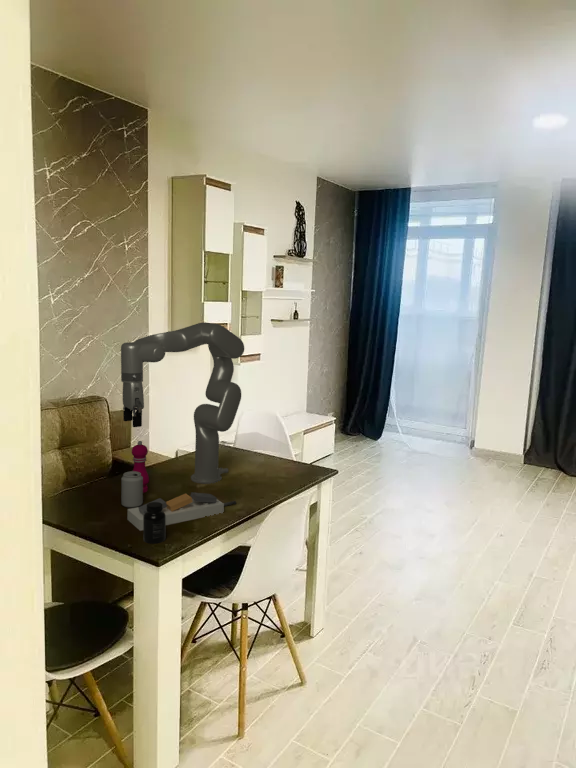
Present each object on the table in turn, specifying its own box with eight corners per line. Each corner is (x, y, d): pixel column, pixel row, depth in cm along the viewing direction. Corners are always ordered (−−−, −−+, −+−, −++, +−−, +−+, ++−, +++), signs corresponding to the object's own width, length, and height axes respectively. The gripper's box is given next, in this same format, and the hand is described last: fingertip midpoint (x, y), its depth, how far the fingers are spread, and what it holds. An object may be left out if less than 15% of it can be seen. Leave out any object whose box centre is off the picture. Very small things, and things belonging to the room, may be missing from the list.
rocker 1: (161, 502, 204) (160, 497, 204) (167, 506, 201) (165, 502, 200) (139, 512, 200) (138, 507, 200) (144, 516, 196) (143, 511, 196)
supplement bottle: (167, 537, 192) (168, 501, 190) (162, 546, 185) (163, 509, 183) (146, 535, 192) (146, 499, 190) (140, 544, 185) (140, 507, 183)
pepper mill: (125, 491, 230) (125, 441, 227) (138, 486, 237) (138, 437, 234) (140, 495, 227) (140, 444, 224) (152, 490, 234) (153, 440, 230)
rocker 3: (209, 498, 215) (210, 493, 215) (215, 502, 212) (217, 497, 212) (190, 497, 211) (191, 492, 211) (196, 501, 207) (197, 496, 207)
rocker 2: (186, 497, 210) (185, 493, 209) (192, 502, 206) (191, 497, 206) (165, 507, 206) (164, 502, 205) (171, 511, 202) (170, 506, 201)
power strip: (227, 500, 226) (228, 489, 225) (242, 510, 217) (243, 498, 216) (127, 520, 203) (127, 507, 202) (139, 531, 194) (140, 518, 194)
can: (145, 507, 216) (145, 475, 214) (124, 510, 212) (124, 477, 210) (139, 500, 222) (139, 469, 220) (119, 503, 218) (119, 471, 216)
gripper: (151, 380, 209) (151, 428, 212) (134, 373, 224) (134, 417, 226) (130, 381, 205) (130, 430, 208) (114, 374, 219) (114, 419, 222)
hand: (132, 423), depth 217 cm, fingers open, 9 cm apart
